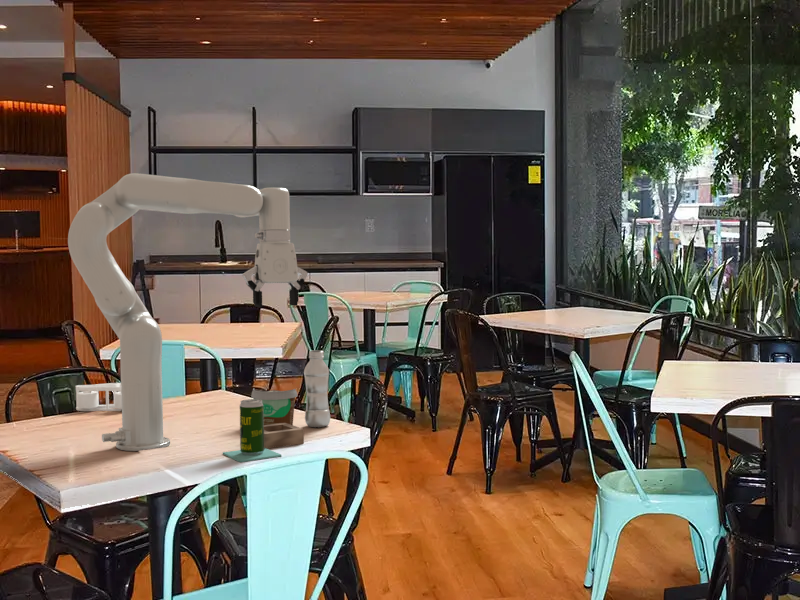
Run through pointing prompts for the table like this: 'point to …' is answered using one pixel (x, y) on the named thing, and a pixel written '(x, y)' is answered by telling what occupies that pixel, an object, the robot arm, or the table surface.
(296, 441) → the walnut socket block
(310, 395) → the plastic bottle
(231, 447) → the table surface
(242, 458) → the teal mat
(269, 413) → the food container
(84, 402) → the white slotted holder
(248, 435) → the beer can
